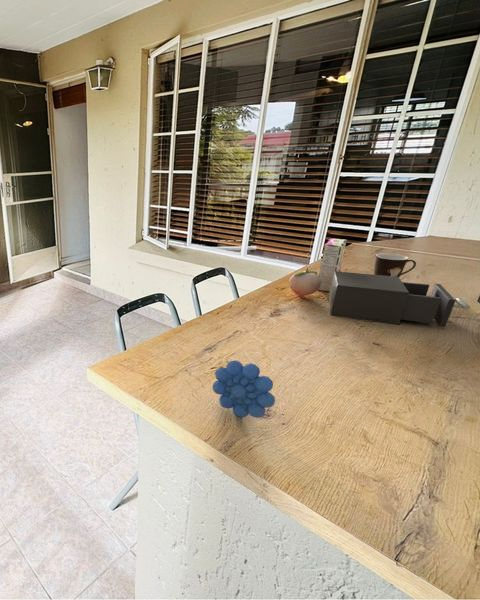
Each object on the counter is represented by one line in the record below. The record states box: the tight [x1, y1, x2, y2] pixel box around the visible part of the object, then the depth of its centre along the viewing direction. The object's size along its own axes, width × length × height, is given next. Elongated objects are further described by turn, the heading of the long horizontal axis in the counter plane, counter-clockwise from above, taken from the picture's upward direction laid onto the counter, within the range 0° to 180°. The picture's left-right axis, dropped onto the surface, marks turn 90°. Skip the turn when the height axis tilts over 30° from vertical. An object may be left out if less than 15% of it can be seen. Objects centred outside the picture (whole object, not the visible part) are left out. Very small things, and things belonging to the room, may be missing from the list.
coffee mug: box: [373, 253, 417, 278], centre depth 122 cm, size 12×9×10 cm
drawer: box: [400, 281, 471, 328], centre depth 98 cm, size 19×13×8 cm
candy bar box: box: [317, 238, 348, 293], centre depth 122 cm, size 11×5×16 cm, turn 137°
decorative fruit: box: [288, 268, 321, 298], centre depth 116 cm, size 9×8×10 cm
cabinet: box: [328, 271, 409, 326], centre depth 104 cm, size 16×15×10 cm
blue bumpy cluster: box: [212, 359, 276, 419], centre depth 64 cm, size 12×7×12 cm, turn 35°
